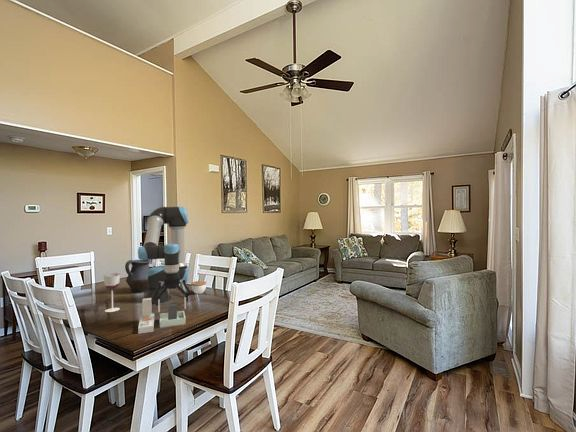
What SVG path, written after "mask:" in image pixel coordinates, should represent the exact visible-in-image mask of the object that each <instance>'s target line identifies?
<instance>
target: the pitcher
mask: <svg viewBox="0 0 576 432" xmlns="http://www.w3.org/2000/svg"><path fill="white" fill-rule="evenodd" d="M150 260H151V259H149V260H140V259H129V260H127V261H126V263H125V264H124V265H125V268H124V269H125V272H126V274H127V277H126V279H125V281H126V283H127V285H128V287H130V289H131V290H132V292H134V293H138V294H139V293H144V292H148V270H149V269H150V268H151V267H150V265H149V264H150ZM130 266H131V268H130Z"/></svg>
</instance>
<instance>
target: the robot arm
mask: <svg viewBox="0 0 576 432" xmlns="http://www.w3.org/2000/svg"><path fill="white" fill-rule="evenodd" d="M146 222H147V229H146V233H145V234H146V235H145V239H144V243H143V245H142V246H138V249H137V257H138V260H164V265H156V266H152V267H150V269H149V270H148V291H146V292H147V293H146V296H145V298H144V299H146V298H151V303H152V304H155V306H156V307H157V308H158V312H157V313H160V312H161V303H165V302H168V301H169V300H170V295H169V292H168V290H173V289H176V288H177V290H179V291H180V293H182V294H183V296H184V297H183V298H184V299H183V300H184V301H183V302H184V303H183V305H184V308H183V309H184V310H186V309H187V303H188V302H189V297H190V296H192V293H191V290H190V289H189V287H188V285H187V283H188V279H189V277H188V276H189V271H190V267H189V266H187V265H188V264H187V262H185V228H186V227H187V225H188V224H189V217H188V210H187V208H186V206H185V207H184V206H160V207H158V208H155V209H154V210H153V211H152V212H151V213H150V214H149V216H148V218H147V221H146ZM167 224H168V228H169V229H170V240H171V241H170V243H167V244H165V245H159V241H160V235H161V234H160V233H161V227H162V226H163V225H167ZM182 284H183V287H184V289H186V291H185V290H184V289H183V288H182V287H181V286H180V285H182Z"/></svg>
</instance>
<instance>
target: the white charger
mask: <svg viewBox="0 0 576 432" xmlns="http://www.w3.org/2000/svg"><path fill="white" fill-rule="evenodd" d="M145 298H146V297H145ZM145 298H142V302H141V303H142V315H143V316H145V315H151V314H153V313H152V307H153V306H152V304H153V303H151V298H146V299H145Z"/></svg>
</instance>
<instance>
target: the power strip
mask: <svg viewBox="0 0 576 432" xmlns="http://www.w3.org/2000/svg"><path fill="white" fill-rule="evenodd" d="M138 322H139V323H138V328H137V329H138V332H137V334H139V335H140V334H145V333H146V334H147V333H152V332H154V329H155V313H151V315H145V316H143V314H141V315H140V316H139V321H138Z"/></svg>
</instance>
